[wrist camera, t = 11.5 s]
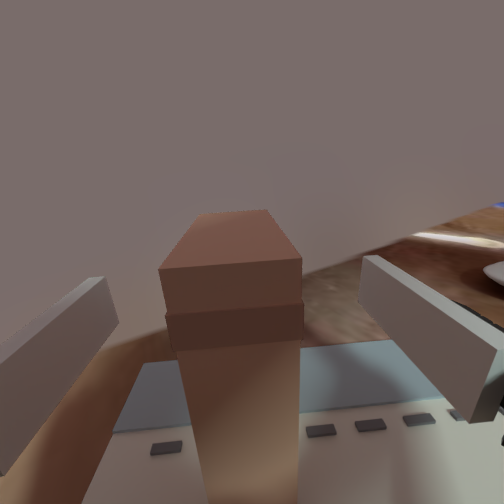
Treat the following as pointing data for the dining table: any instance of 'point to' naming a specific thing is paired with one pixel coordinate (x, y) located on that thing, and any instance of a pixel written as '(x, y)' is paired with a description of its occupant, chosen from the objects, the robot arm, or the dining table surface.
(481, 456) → the board
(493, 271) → the spoon
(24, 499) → the dining table surface
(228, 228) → the small tan carton
